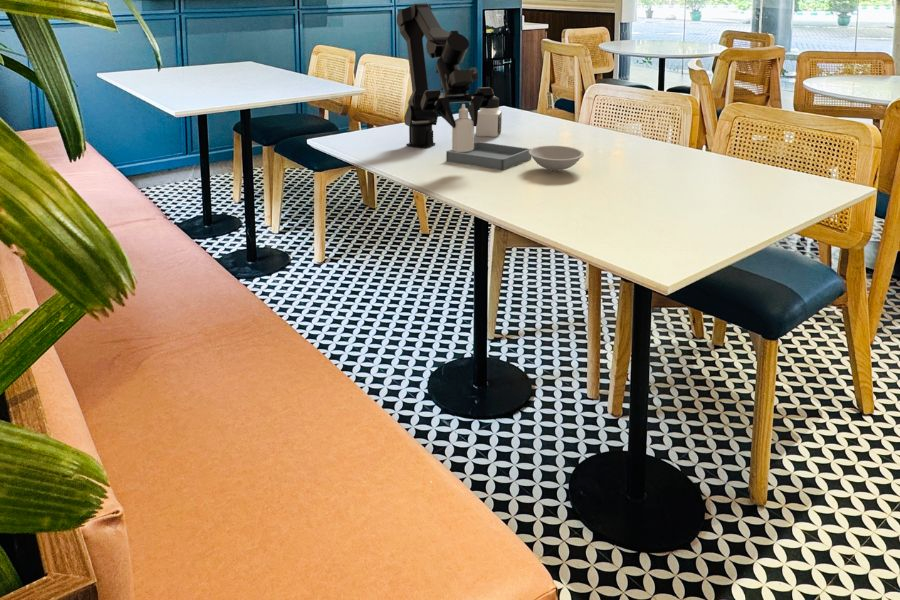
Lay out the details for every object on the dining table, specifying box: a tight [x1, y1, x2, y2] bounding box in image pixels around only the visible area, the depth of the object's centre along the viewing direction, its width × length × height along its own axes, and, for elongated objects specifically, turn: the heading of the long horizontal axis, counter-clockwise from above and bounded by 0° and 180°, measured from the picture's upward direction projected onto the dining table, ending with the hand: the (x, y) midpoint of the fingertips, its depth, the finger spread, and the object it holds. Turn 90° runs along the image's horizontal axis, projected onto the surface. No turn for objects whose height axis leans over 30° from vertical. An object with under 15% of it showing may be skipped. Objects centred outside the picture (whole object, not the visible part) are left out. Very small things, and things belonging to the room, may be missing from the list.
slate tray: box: [445, 141, 533, 171], centre depth 230 cm, size 18×16×3 cm
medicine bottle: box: [475, 95, 503, 138], centre depth 261 cm, size 7×7×12 cm
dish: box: [529, 145, 585, 173], centre depth 218 cm, size 18×14×5 cm
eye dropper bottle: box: [451, 103, 475, 152], centre depth 214 cm, size 4×6×12 cm
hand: (465, 126), depth 212 cm, fingers closed on eye dropper bottle, 5 cm apart
